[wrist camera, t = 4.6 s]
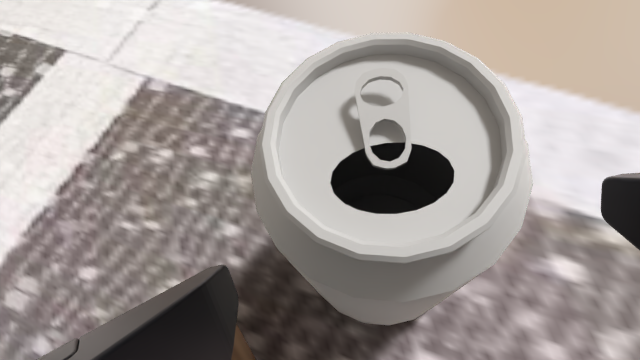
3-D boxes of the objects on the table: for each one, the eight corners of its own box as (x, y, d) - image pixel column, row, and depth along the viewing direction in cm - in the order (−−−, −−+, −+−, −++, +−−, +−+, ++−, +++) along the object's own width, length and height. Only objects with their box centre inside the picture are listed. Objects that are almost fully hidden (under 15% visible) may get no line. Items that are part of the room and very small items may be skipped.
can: (310, 331, 19) (223, 306, 8) (303, 188, 22) (235, 26, 11) (469, 321, 18) (616, 277, 7) (440, 174, 21) (512, -12, 10)
